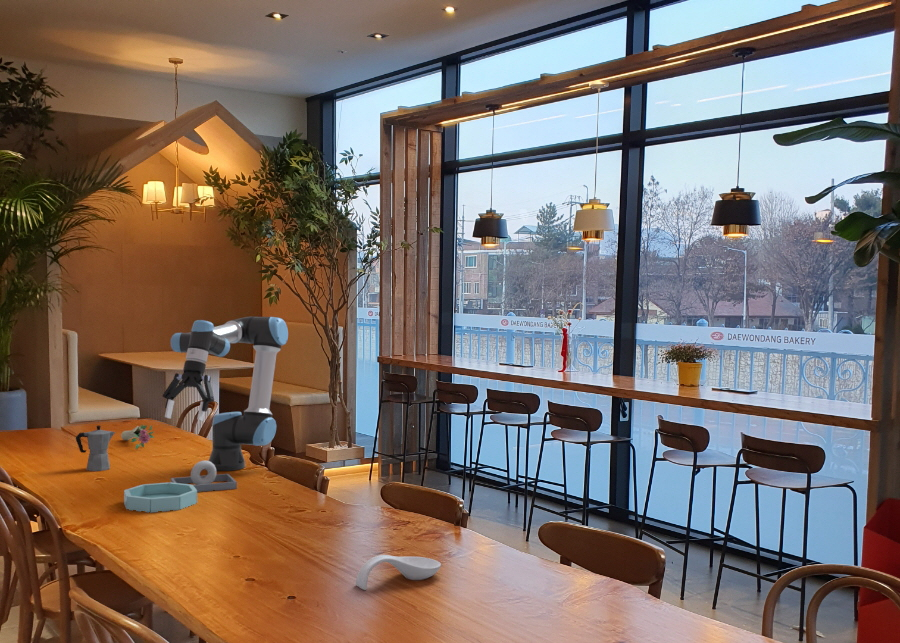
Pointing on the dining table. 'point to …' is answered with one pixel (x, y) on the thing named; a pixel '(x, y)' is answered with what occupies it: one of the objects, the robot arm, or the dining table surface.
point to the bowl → (160, 497)
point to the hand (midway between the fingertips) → (183, 419)
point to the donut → (199, 467)
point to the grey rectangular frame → (210, 487)
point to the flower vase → (138, 435)
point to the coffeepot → (96, 448)
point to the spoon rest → (400, 568)
